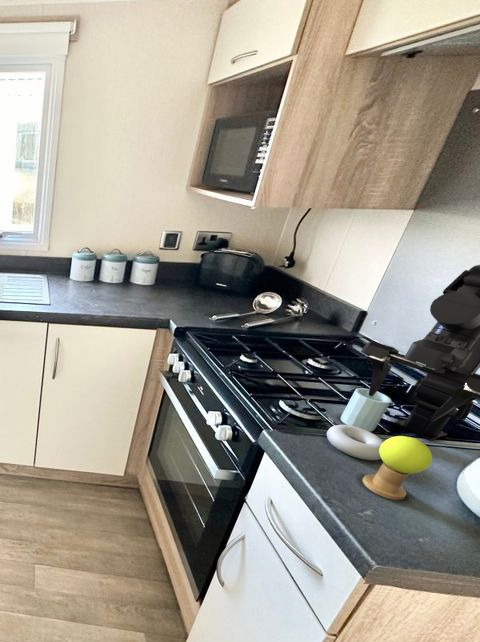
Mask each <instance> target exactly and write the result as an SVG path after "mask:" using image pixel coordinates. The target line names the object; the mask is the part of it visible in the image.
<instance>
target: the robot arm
mask: <svg viewBox="0 0 480 642" xmlns="http://www.w3.org/2000/svg"><path fill="white" fill-rule="evenodd" d="M429 311H430V315H431V316H432V317H433V318H434V320H435V321H436V323H435V324H434V326H433V327H432V328H431V329H430V331H429V332H428V333H427V334H426V335H425V336H424V337H423V338H422V339H418V340H416V341H415V340H414V341H413V342H412V343H411V345H410V346H409V348H408V350H407V352H406V353H405V354H402V353H399V352H400V351H399V350H398V349H397V348H395V347H394V346H390V345H388V344H387V345H386V344H384V343H381V342H377V341H374V340H372V341H368V342H366V343H365V345H364V346H363V347H362V349H361V350H360V353H361V354H364V355H365V356H366V360H368V361H370V363H371V366H372V375H371V380H370V385H369V389H370V391H369V396H373V395H374V394H375V393H376V392H378V391H379V389H380V387H381V386H382V384H383V382H384V381H385V379H386V377H388V374H389V372H390V371H391V369H392V368H393V366H392V365H390V363H392V362H394V363H397V364H400V365H403V366H406V367H409V368H412V369H415V370H418V371H420V372H423V373H425V374H426V373H427V374H426V375H425V376H424V377H423V378H419V379H418V380H417V381H416V382H415V384H414V385H413V387H412V389H411V391H410V393H409V395H408V398H407V400H406V402H409V403H412V404H414V407H413V409H412V410H411V412H410V413H409V415H408V417H407V418H406V419H404V420H400V421H396V423H395V424H396V425H397V426H399V427H401V428H403V429H405V430H407V431H409V432H411V433H413V434H415V435H417V436H419V437H422V438H423V439H425V440H428V441H433V440H436V439H440V438H444V437H446V436H447V435H448V433H446V432H445V431H443V429H444V427H445V426H446V425H447V424H448V422H449V420H451V419H453V420H454V421H457V420H460V421H461V420H462V421H465V420H466V419H467V417H468V416H469V415H470V413H471V411H472V409H473V407H474V405H475V404H474V401H475V400H479V401H480V374H479V373H477V372H478V370H480V264H476V265H473V266H472V267H471V268H469V269H465V270H464V271H463V272H461V273H460V274H459V275H458V276H457V277H456V278H455V279H454V280H453V281H452V282H450V284H448V285H447V287H445V288H444V289H443V291H442V294H441V295H439V296H438V297H436V298H435V299H434V300H433V301H432V302H431V304H430V307H429Z"/></svg>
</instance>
